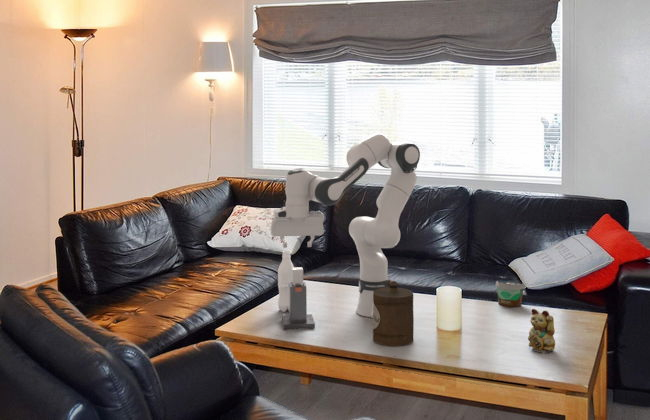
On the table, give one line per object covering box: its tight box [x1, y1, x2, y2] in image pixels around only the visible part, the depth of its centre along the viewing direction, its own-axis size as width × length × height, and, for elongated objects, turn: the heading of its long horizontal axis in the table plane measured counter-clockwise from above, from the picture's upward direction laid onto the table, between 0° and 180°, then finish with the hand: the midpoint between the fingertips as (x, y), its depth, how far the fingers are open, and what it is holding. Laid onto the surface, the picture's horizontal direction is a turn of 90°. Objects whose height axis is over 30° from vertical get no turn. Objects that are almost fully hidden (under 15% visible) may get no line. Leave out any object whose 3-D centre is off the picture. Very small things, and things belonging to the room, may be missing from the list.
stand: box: [281, 281, 316, 331], centre depth 307 cm, size 12×12×17 cm
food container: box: [495, 280, 526, 309], centre depth 332 cm, size 12×6×10 cm, turn 68°
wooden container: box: [372, 280, 415, 347], centre depth 288 cm, size 15×15×22 cm
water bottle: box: [277, 250, 295, 313], centre depth 325 cm, size 7×7×25 cm
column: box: [292, 266, 304, 286], centre depth 307 cm, size 4×4×20 cm
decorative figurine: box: [527, 308, 556, 354], centre depth 278 cm, size 10×8×15 cm
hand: (297, 247), depth 304 cm, fingers open, 8 cm apart
